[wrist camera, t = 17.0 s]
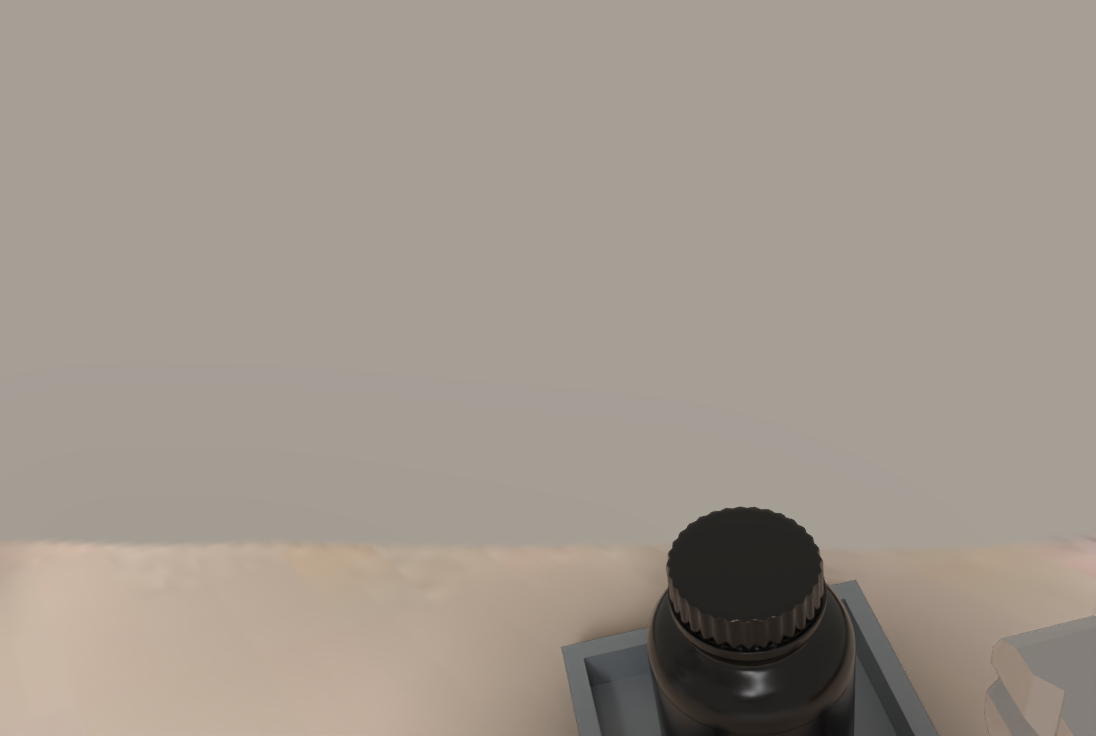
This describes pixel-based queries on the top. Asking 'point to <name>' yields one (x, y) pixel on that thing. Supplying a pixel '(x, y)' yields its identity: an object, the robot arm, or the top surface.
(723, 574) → the supplement bottle
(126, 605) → the top surface
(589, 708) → the tray
